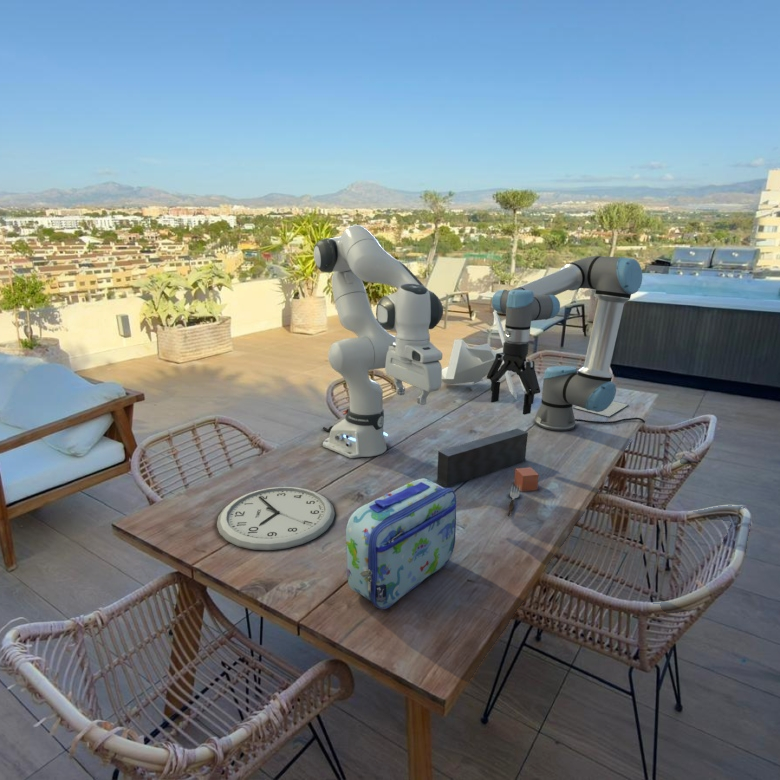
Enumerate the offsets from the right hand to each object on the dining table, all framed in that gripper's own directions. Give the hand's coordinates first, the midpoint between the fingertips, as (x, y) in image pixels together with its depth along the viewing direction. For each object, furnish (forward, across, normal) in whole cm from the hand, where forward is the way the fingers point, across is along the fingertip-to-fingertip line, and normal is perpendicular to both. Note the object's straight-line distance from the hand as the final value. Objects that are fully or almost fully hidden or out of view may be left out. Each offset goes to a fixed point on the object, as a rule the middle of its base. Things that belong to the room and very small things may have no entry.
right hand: (510, 407), depth 166 cm
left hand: (-10, +2, -41) cm, 42 cm away
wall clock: (+19, -8, -76) cm, 79 cm away
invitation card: (+19, -18, +77) cm, 81 cm away
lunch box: (+19, +31, -63) cm, 73 cm away
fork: (+19, +21, -18) cm, 34 cm away
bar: (+19, +1, -11) cm, 22 cm away
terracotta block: (+19, +16, -8) cm, 26 cm away
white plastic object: (+19, -60, +45) cm, 78 cm away
